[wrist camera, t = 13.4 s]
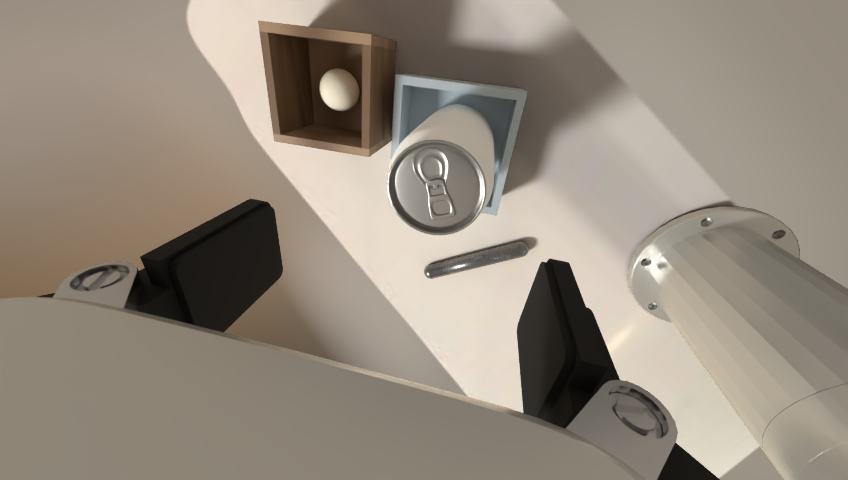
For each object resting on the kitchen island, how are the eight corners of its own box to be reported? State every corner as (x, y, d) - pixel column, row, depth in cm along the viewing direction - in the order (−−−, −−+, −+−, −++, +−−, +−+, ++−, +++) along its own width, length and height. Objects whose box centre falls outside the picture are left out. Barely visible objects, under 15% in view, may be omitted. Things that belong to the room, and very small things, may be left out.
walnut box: (396, 41, 25) (371, 34, 20) (390, 141, 29) (369, 157, 24) (304, 30, 26) (258, 20, 21) (311, 128, 30) (274, 141, 25)
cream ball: (365, 70, 26) (350, 71, 23) (364, 111, 28) (350, 116, 25) (329, 66, 26) (310, 65, 24) (331, 106, 28) (313, 110, 25)
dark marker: (525, 236, 31) (527, 244, 30) (529, 249, 32) (531, 257, 31) (423, 263, 35) (420, 271, 34) (428, 274, 36) (426, 282, 35)
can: (487, 94, 25) (483, 116, 15) (499, 170, 28) (503, 233, 18) (412, 114, 27) (363, 147, 17) (431, 184, 30) (398, 248, 20)
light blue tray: (522, 88, 25) (527, 92, 22) (496, 198, 30) (496, 215, 26) (408, 73, 26) (395, 74, 23) (400, 181, 31) (388, 195, 27)
